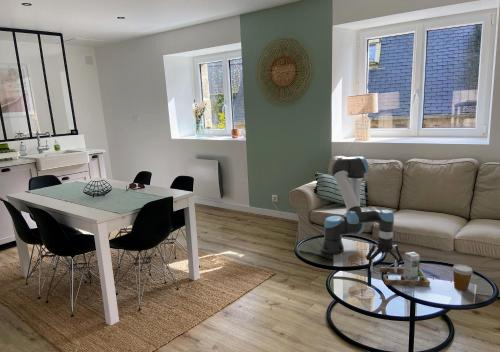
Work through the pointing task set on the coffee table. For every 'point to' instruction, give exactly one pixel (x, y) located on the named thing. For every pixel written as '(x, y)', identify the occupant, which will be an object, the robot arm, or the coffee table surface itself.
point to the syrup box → (411, 265)
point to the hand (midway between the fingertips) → (383, 271)
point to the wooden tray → (404, 278)
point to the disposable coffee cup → (462, 277)
